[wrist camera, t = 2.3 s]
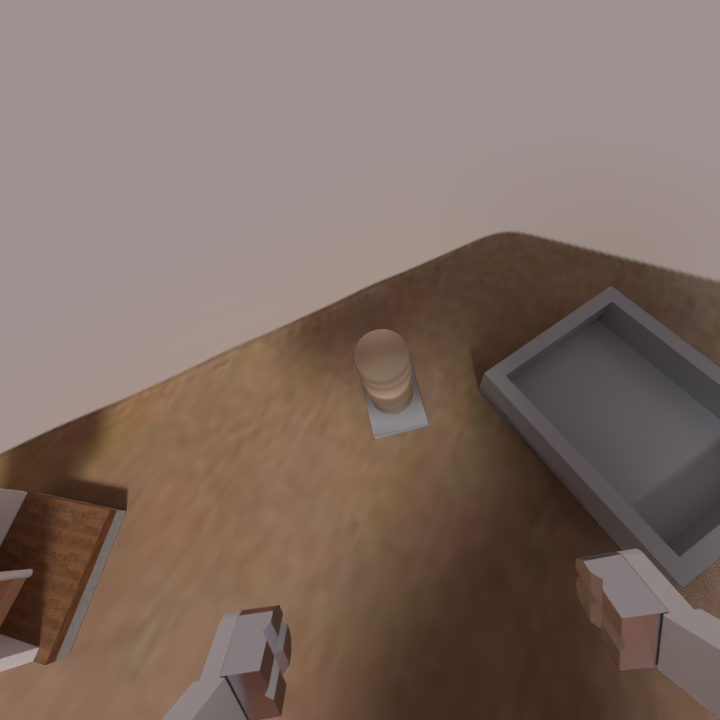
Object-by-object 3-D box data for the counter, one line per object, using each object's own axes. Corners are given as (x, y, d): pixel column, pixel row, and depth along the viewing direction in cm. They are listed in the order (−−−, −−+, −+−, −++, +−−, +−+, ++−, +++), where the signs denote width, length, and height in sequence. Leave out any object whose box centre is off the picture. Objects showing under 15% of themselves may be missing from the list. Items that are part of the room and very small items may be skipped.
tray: (786, 467, 27) (840, 457, 24) (647, 580, 26) (682, 587, 22) (592, 310, 35) (610, 285, 32) (478, 389, 34) (484, 372, 30)
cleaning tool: (428, 426, 33) (428, 388, 24) (375, 439, 34) (356, 406, 25) (408, 360, 36) (402, 305, 28) (360, 373, 37) (339, 322, 28)
